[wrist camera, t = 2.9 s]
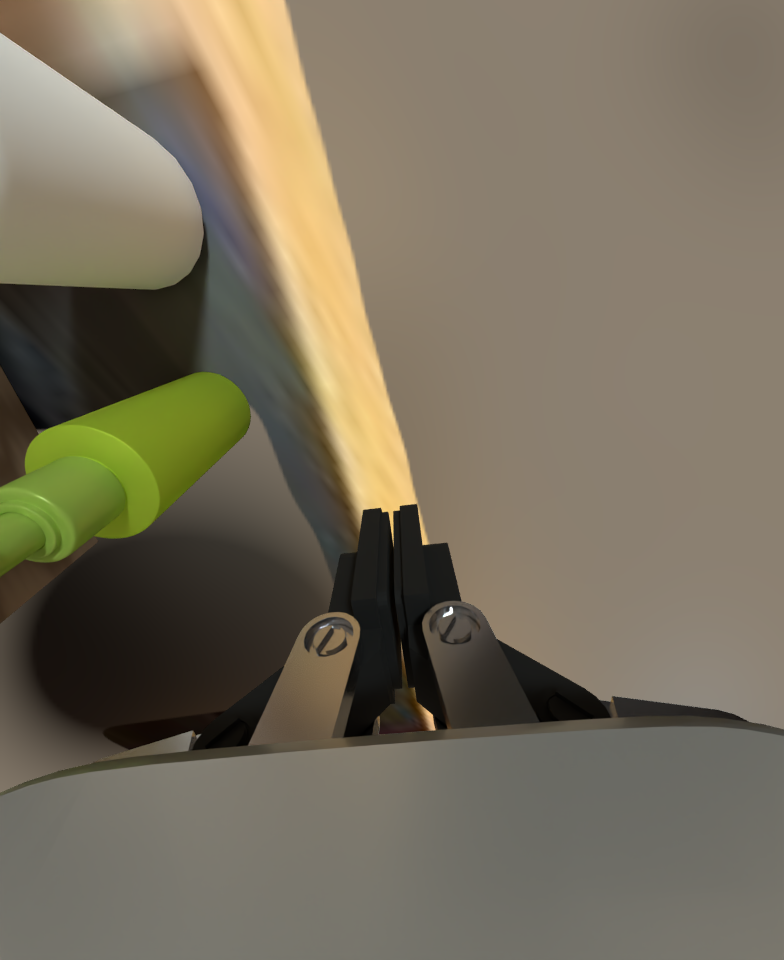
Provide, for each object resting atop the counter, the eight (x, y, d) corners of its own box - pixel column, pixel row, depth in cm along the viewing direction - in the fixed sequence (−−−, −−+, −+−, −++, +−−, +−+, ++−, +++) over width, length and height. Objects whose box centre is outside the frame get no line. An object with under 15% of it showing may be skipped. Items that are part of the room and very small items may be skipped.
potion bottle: (188, 125, 22) (-392, -380, 6) (224, 285, 25) (-64, 261, 9) (47, 136, 22) (-911, -324, 6) (103, 294, 26) (-390, 285, 9)
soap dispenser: (166, 442, 30) (-162, 652, 12) (179, 359, 27) (-218, 474, 9) (238, 467, 31) (35, 696, 13) (258, 389, 28) (36, 545, 10)
